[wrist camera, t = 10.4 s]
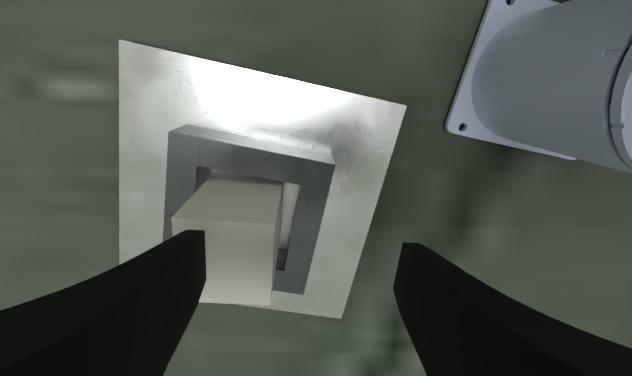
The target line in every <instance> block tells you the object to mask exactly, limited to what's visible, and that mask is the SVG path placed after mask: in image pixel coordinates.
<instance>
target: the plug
mask: <svg viewBox="0 0 632 376" xmlns="http://www.w3.org/2000/svg"><path fill="white" fill-rule="evenodd" d="M283 186H284V182H281V181H276V180H270V179H265V178H260V177H254V176H249V175H244V174H238V173H233V172H228V171H222V170H216V171H215V172H214V173H213V174H212V175H211V177H210V178H209V179H208V180H207V181H206V182H205V183H204V184H203V185H202V186H201V187H200V188H199V189H198V190H197V191H196V192H195V193H194V194H193V195H192V196H191V198H190V199H189V200H188V201H187V202H186V203H185V204H184V205H183V206H182V207H181V208H180V209H179V210H178V211H177V212H176V213H175V214H174V215H173V216H172V218H171V221H172V234H173V236H175V235H176V234H178V233H180V232H182V231H185V230H187V229H188V230H205V252H206V282H205V285H204V288H203V291H202V294H201V297H200V300H199V302H203V303H226V304H249V305H271V298H272V291H273V283H274V276H275V268H276V261H277V254H278V246H279V239H280V232H281V217H282V202H283Z"/></svg>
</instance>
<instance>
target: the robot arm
mask: <svg viewBox="0 0 632 376" xmlns="http://www.w3.org/2000/svg"><path fill="white" fill-rule="evenodd" d="M462 123H463V125H464V127H463V129H462V130H460V131H459V125H460V124H462ZM445 129H446V131H447V132H449V133H452V134H457V135H461V136H466V137H470V138H475V139H479V140H484V141H488V142H493V143H497V144H502V145H506V146H511V147H515V148H520V149H524V150H529V151H533V152H538V153H542V154H547V155H551V156H556V157H560V158H565V159H569V160H575V159H580V160H584V161H587V162H591V163H594V164H598V165H601V166H605V167H609V168H612V169H616V170H619V171H623V172H627V173H630V174H632V0H571V1H567V2H564V3H558V2H554V1H551V0H511V2H510V4H509V5H507V4H506V0H489V2H488V4H487V7H486V10H485V13H484V16H483V18H482V21H481V24H480V27H479V30H478V33H477V35H476V38H475V41H474V44H473V47H472V49H471V52H470V55H469V58H468V61H467V63H466V66H465V69H464V72H463V75H462V78H461V80H460V83H459V86H458V89H457V92H456V94H455V97H454V100H453V103H452V106H451V108H450V111H449V114H448V117H447V120H446V123H445ZM205 282H206V252H205V230H188V229H187V230H185V231H182V232H180V233H178V234H176V235H175V236H173V237H171V238H169V239H167V240H166V241H164V242H162V243H160V244H158V245H157V246H155V247H153V248H151V249H149V250H147V251H146V252H144V253H142V254H140V255H138V256H136V257H134V258H132V259H130V260H128V261H126V262H124V263H122V264H120V265H118V266H116V267H114V268H112V269H110V270H108V271H106V272H104V273H101V274H99V275H97V276H95V277H92V278H90V279H88V280H85V281H83V282H80V283H78V284H75V285H73V286H70V287H68V288H65V289H63V290H60V291H57V292H54V293H51V294H48V295H46V296H43V297H40V298H37V299H34V300H31V301H28V302H25V303H22V304H20V305H17V306H13V307H10V308H7V309H4V310H0V376H163V374H164V372H165V370H166V368H167V365H168V363H169V361H170V359H171V357H172V355H173V353H174V351H175V349H176V347H177V345H178V344H179V342H180V340H181V338H182V336H183V334H184V332H185V330H186V328H187V326H188V324H189V322H190V320H191V317H192V315H193V313H194V311H195V309H196V307H197V305H198V303H199V300H200V297H201V294H202V291H203V288H204V285H205ZM393 290H394V294H395V298H396V301H397V305H398V308H399V311H400V314H401V317H402V319H403V322H404V324H405V326H406V329H407V331H408V333H409V335H410V338H411V340H412V342H413V345H414V347H415V349H416V351H417V354H418V356H419V358H420V361H421V363H422V365H423V367H424V370H425V372H426V375H427V376H632V349H631V348H628V347H626V346H623V345H620V344H617V343H614V342H612V341H609V340H606V339H603V338H601V337H598V336H595V335H593V334H590V333H588V332H585V331H583V330H580V329H577V328H575V327H573V326H570V325H568V324H566V323H563V322H561V321H559V320H556V319H554V318H552V317H549V316H547V315H545V314H543V313H540V312H538V311H536V310H534V309H532V308H530V307H528V306H526V305H524V304H522V303H520V302H518V301H516V300H514V299H512V298H510V297H508V296H506V295H504V294H502V293H501V292H499V291H497V290H495V289H494V288H492V287H490V286H488V285H487V284H485V283H483V282H481V281H480V280H478V279H476V278H475V277H473V276H471V275H470V274H468V273H467V272H465V271H463V270H462V269H460V268H459V267H457V266H456V265H454V264H453V263H451V262H449V261H448V260H446V259H445V258H443V257H442V256H440V255H439V254H437V253H435V252H434V251H432V250H431V249H429V248H427V247H425V246H424V245H422V244H419V243H406V242H403V245H402V249H401V254H400V258H399V263H398V268H397V272H396V277H395V281H394V286H393Z"/></svg>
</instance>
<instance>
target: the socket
mask: <svg viewBox="0 0 632 376" xmlns="http://www.w3.org/2000/svg"><path fill="white" fill-rule="evenodd" d="M406 107H407V106H406V105H402V104H397V103H393V102H389V101H384V100H380V99H376V98H371V97H367V96H363V95H358V94H354V93H350V92H345V91H341V90H336V89H332V88H328V87H323V86H319V85H315V84H310V83H306V82H302V81H297V80H293V79H289V78H284V77H280V76H276V75H271V74H267V73H263V72H258V71H254V70H250V69H245V68H241V67H236V66H232V65H228V64H223V63H219V62H215V61H210V60H206V59H202V58H197V57H193V56H189V55H184V54H180V53H176V52H171V51H167V50H163V49H158V48H154V47H150V46H145V45H141V44H137V43H132V42H128V41H123V40H119V247H120V264H122V263H124V262H126V261H128V260H130V259H132V258H134V257H136V256H138V255H140V254H142V253H144V252H146V251H147V250H149V249H151V248H153V247H155V246H157V245H158V244H160V243H162V242H164V241H166V240H167V239H169V238H171V237H173V234H172V221H171V218H172V216H173V215H174V214H175V213H176V212H177V211H178V210H179V209H180V208H181V207H182V206H183V205H184V204H185V203H186V202H187V201H188V200H189V199H190V198H191V196H192V195H193V194H194V193H195V192H196V191H197V190H198V189H199V188H200V187H201V186H202V185H203V184H204V183H205V182H206V181H207V180H208V179H209V178H210V177H211V175H212V174H213V173H214V172H215V171H216V170H222V171H228V172H233V173H238V174H244V175H249V176H254V177H260V178H265V179H270V180H276V181H281V182H284V186H283V202H282V217H281V232H280V239H279V246H278V254H277V261H276V268H275V276H274V283H273V291H272V298H271V305H249V304H237V305H244V306H252V307H259V308H266V309H274V310H281V311H288V312H296V313H303V314H310V315H318V316H325V317H332V318H339V319H341V318H342V315H343V312H344V308H345V305H346V302H347V299H348V295H349V292H350V289H351V286H352V282H353V279H354V276H355V273H356V269H357V266H358V263H359V260H360V256H361V253H362V250H363V247H364V243H365V240H366V237H367V234H368V230H369V227H370V224H371V221H372V217H373V214H374V211H375V208H376V204H377V201H378V198H379V194H380V191H381V188H382V185H383V181H384V178H385V175H386V172H387V168H388V165H389V162H390V159H391V155H392V152H393V149H394V146H395V142H396V139H397V136H398V133H399V129H400V126H401V123H402V120H403V116H404V113H405V110H406Z"/></svg>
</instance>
